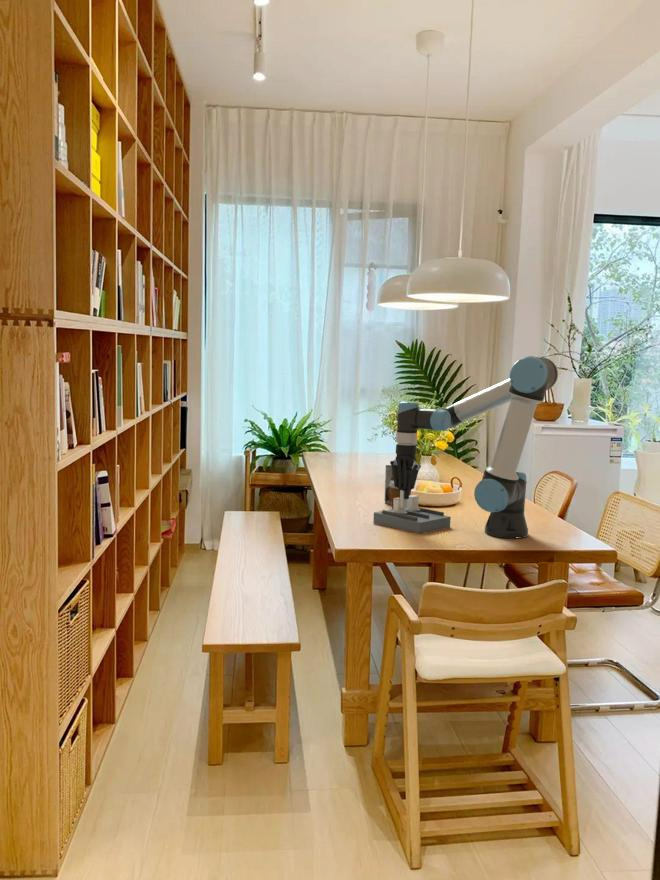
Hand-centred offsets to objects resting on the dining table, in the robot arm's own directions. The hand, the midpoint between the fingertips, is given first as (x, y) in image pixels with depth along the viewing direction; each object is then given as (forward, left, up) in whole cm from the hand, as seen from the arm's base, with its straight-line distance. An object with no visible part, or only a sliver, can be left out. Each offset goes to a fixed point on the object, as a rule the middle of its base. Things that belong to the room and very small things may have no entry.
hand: (403, 507), depth 278 cm
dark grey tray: (-1, -4, -7) cm, 8 cm away
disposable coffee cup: (+19, -21, -7) cm, 29 cm away
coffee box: (+32, -33, -7) cm, 47 cm away
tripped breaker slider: (+2, 0, -3) cm, 3 cm away
